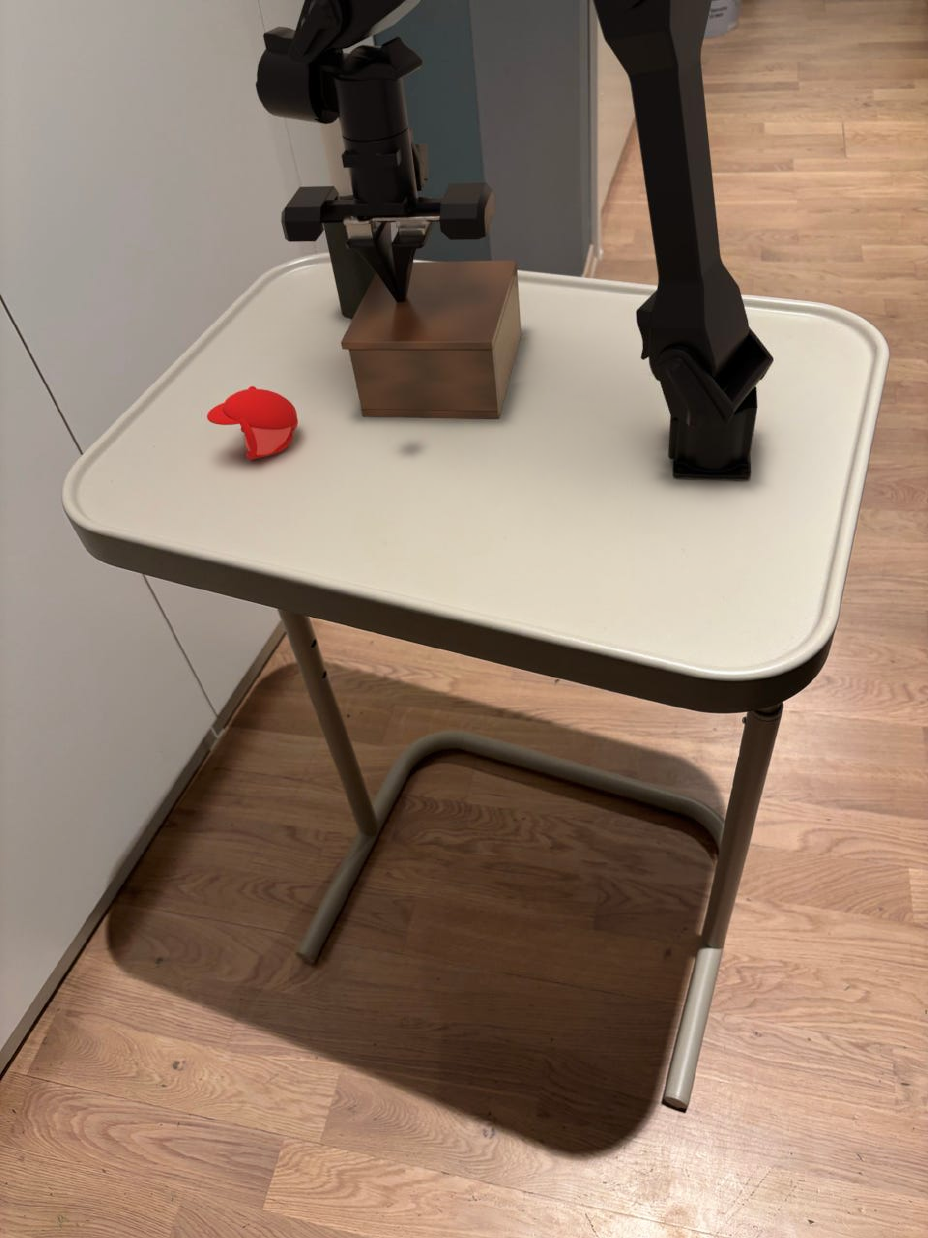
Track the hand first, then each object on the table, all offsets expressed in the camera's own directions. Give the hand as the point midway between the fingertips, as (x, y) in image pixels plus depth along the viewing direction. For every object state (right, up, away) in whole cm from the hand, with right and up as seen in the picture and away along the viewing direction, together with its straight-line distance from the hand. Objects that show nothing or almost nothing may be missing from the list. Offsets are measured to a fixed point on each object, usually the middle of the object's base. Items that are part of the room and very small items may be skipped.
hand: (401, 299), depth 91 cm
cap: (-13, -14, 0) cm, 20 cm away
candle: (-5, +4, +16) cm, 17 cm away
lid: (+3, -1, 0) cm, 3 cm away
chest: (+4, -6, +5) cm, 9 cm away
